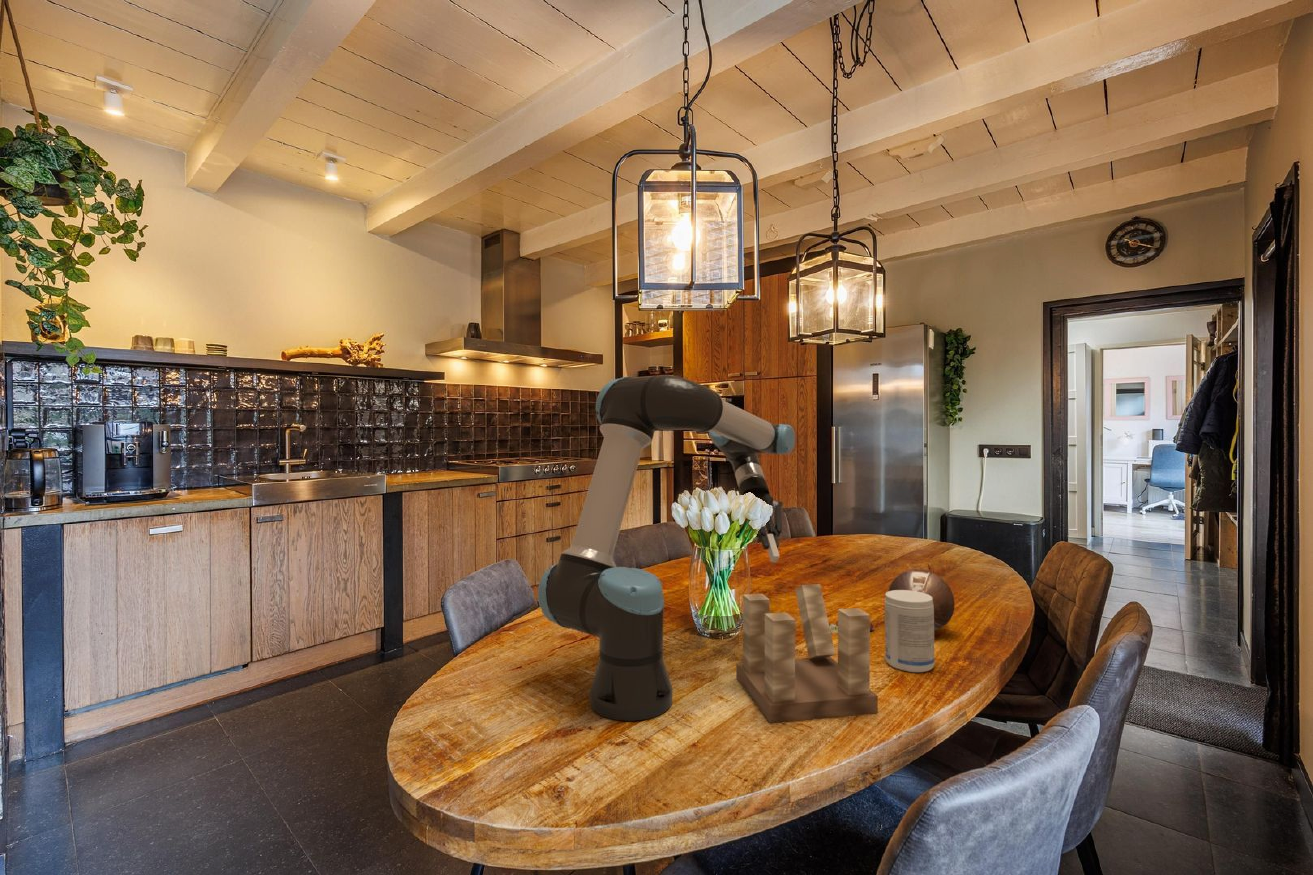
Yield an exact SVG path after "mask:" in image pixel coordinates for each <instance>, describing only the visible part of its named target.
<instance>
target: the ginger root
mask: <svg viewBox="0 0 1313 875" xmlns="http://www.w3.org/2000/svg"><path fill="white" fill-rule="evenodd" d="M829 627H830V631H831V634H838V620H837V621H836V622H835V623H829ZM874 627H875V626H874V624H873V623H872V622H870V631H873V630H874V629H875V628H874Z"/></svg>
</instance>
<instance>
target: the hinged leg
mask: <svg viewBox="0 0 1313 875" xmlns="http://www.w3.org/2000/svg"><path fill="white" fill-rule="evenodd" d="M794 592H795V596H796V601H797V606H798V610H799V614H800V615H799V617H800V620H801V625H802V632H803V636H804V640H805V646H806V650H807V655H808V658H809V659H814V658H827V657H832V656H835V655H836V650H835V646H834V641H833V636H832V633H831V631H830V627H829V624H830V623H829V618H828V615H827V610H826V604H825V601H824V597H823V596H824V595H823V592H822V586H821V583H813V584H801V585H800V586H798V587H797V588H796V589H795V590H794Z"/></svg>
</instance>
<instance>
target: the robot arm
mask: <svg viewBox="0 0 1313 875" xmlns="http://www.w3.org/2000/svg"><path fill="white" fill-rule="evenodd" d="M595 411H596V412H597V414H596V418H597V420H598V422H599V424H600V425H599V431H600V433H601V435H602V436H603V440H602V444H601V447H600V450H599V452H598V453H599V454H598V457H597V459H596V464H595V467H594V470H593V474H592V477H591V479H590V483H589V487H588V489H587V494H586V497H585V500H584V504H583V506H582V509H581V513H580V516H579V520H578V523H577V526H576V529H575V533H574V536H573V540H572V543H571V546H570V547H568V548H566V549H565V550H563V551H561V553H560V557H559V560H558V563H555V564H553V565H551V566H549V567H548V569H547V570H545V571H544V572H543V574H542V576H541V578H540V580H539V584H538V588H537V602H538V605H539V607H540V609H541V612H542V614H543V616H544V617H545V619H547V620H549V622H551V623H554V624H556V625H558V626H559V627H562V628H564V629H572V630H574V631H578V632H581V633H584V634H587V635H590V636H594V637H597V638H599V640H598V641H599V642H598V643H599V645H598V646H599V657H598V658H599V660H598V664H597V667H596V668H595V672H594V676H593V678H592V682H591V685H590V688H589V705H590V707H591V709H592V711H594V712H595V713H596V714H598V715H600V716H602V717H605V718H607V719H610V720H616V721H617V720H618V721H624V722H626V721H627V722H628V721H629V722H632V721H635V722H636V721H642V720H649V719H652V718H655V717H657V716H658V717H659V716H660V715H663V714H664V713H665V712H667V711H668V710H670V707H671V706H672V705H673V700H674V699H673V696H674V695H673V692H674V691H673V686H672V683H671V680H670V677H669V674H668V670H667V667H666V664H665V660H664V607H665V600H664V596H663V593H664V592H663V585H662V582H661V580H660V579H659V578H658V577H657V575H655V574H654V573H651V572H650V571H647V570H644V569H642V568H637V567H627V566H617V565H616V562H615V561H614V558H613V557H614V556H613V555H614V552H615V548H616V545H617V542H618V538H619V534H620V531H621V527H622V525H623V524H622V523H623V520H624V516H625V513H626V509H627V506H628V502H629V499H630V495H631V491H632V488H633V484H634V480H635V478H636V474H637V470H638V466H639V462H640V459H641V455H642V451H643V449H645V448H646V447H648V446H650V445H651V444H652V443H653V442H652V441H653V439H654V434H655V432H656V431H678V430H679V431H681V430H682V431H694V432H697V433H699V434H700V433H701V434H702V433H708V436H709V438H710V439H711V441H712V442H713V444H714V445H715V446H716V447H717V449H719V451H720V452H721V453H722V454H723V455H724V457H726V459H727V460H728V461H729V463H730V464H731V466H732V469H733V473H734V477H735V479H736V483H737V486H738V490H739V491H738V492H739V494H740V496H741V495H744V494H745V493H748V492H751V493H753V494H754V495H755V496H756V497H758V498H760V499H762V500H763V501H765V502H766V503H767V504H769V505H771V506H772V510H773V511H774V513H773V518H774V519H773V518H772V515H771V516H770V520H769V521H768V522H767V523H766V525H765V524H764V527H762V528H761V529H760V530H759V531H758V534H757V536H756V537H755V538H758V541H759V542H761V545H762V548H763V549H764V550H766V551H767V554H768V557H769V560H770V563H778V561H779V558H780V554H779V553H780V552H779V546H780V542H779V539H778V537H780V536H781V534H782V532H783V520H782V518H783V517H782V507H783V504H784V502H783V501H778V502H777V501H776V500H774V498H773V497H772V495H771V494H770V489H769V486H768V483H767V481H766V477H765V475H764V471H763V469H762V466H761V463H760V460H759V457H758V454H768V455H771V454H773V455H788V454H790V453H792V451H793V450H794V448H795V444H796V434H795V430H794V428H793V426H792V425H790V424H783V423H777V424H776V423H775V424H774V423H772V422H769V421H768V420H765V419H763V418H761V417H758V416H757V415H754V414H752V413H750V412H748V411H746V410H744V409H742V408H740V407H738V406H735V404H732V403H730V402H728V401H725V400H723V398H722V397H721V395H720V393H718V392H717V391H715V390H713V389H711V388H709V387H707V386H705V385H703V384H700V383H698V382H695V381H694V380H690V379H688V378H684V377H680V376H677V375H671V374H659V375H648V376H635V377H634V376H623V377H620V378H615V379H612V380H610V381H608V382H607V383H605V384H604V385H603V387H602V388H601V389H600V390H599V393H598V395H597V398H596V402H595ZM773 520H774V521H773Z"/></svg>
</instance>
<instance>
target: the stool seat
mask: <svg viewBox="0 0 1313 875" xmlns="http://www.w3.org/2000/svg"><path fill="white" fill-rule="evenodd" d="M770 605H771V604H770V599H769V598H768V596H766V595H765V594H763V593H751V594H747V593H746V594H743V595H742V662H736V664H735V665H736V669H735V670H736V677H735V678H736V680H737V681H738V682H739V684H740V685H741V687H742V689H744V690H745V692H746V693H747V695H748V694H749V695H748V696H749V697H750V699H751V698H752V699H751V700H752V702H755V703H754V705H755V706H756V707H757V706H758V707H757V708H758V710H759V711H760V713H761V714H762V715H763V716H764V718H765V719H766V721H767V722H768V723H769V724H773V723H783V722H794V721H803V720H804V721H805V720H813V719H814V720H815V719H816V720H818V719H825V718H827V719H828V718H836V717H837V718H838V717H847V716H848V717H849V716H857V715H859V716H861V715H868V714H878V713H879V710H878V709H879V708H878V706H879V705H878V704H879V702H878V701H879V698H878V697H879V695H877V694H876V693H875V692H874V691H872V690H871V689H870V683H871V682H870V674H871V672H870V670H871V668H870V667H871V666H870V663H871V661H870V659H871V658H870V657H871V653H870V652H871V643H870V642H871V630H870V623H871V614H869V613H867V612H865V611H864V610H862V609H861V608H859V607H856V608H839V609H838V608H837V621H838V633H837V660H835V659H834V658H832V656H830V657H827V658H814V659H809V657H803V658H801V657H800V658H796V619H795V618H794V617H793V616H791V615H790V614H789V613H787V612H785V611H784V612H771V611H770V608H771V606H770Z"/></svg>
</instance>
